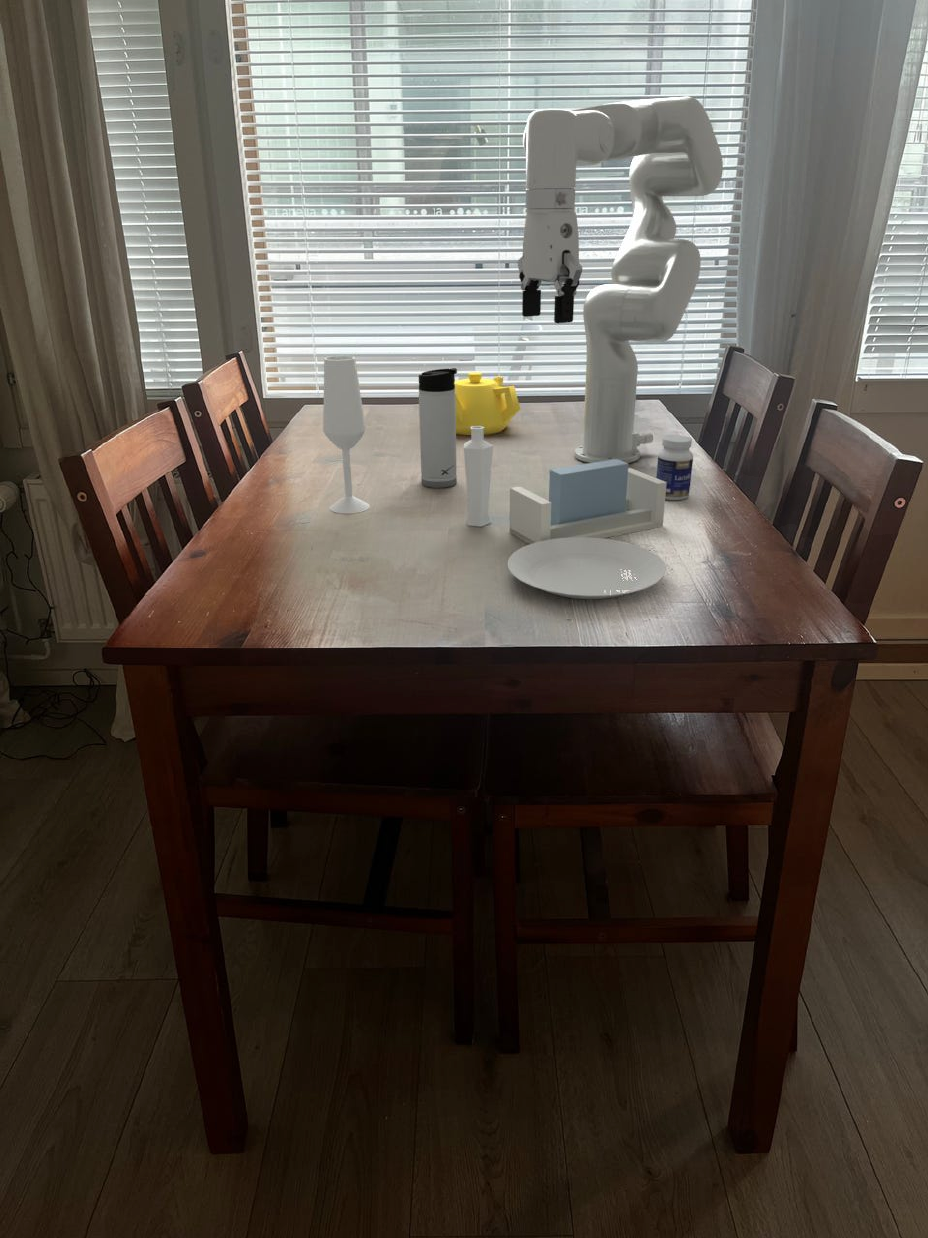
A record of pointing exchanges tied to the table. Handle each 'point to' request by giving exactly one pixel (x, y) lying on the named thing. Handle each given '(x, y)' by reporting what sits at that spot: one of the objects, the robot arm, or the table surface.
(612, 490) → the door panel
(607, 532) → the track frame
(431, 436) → the travel mug
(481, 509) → the perfume bottle
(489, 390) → the teapot
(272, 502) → the table surface
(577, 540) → the plate
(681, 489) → the pill bottle
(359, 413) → the champagne flute
